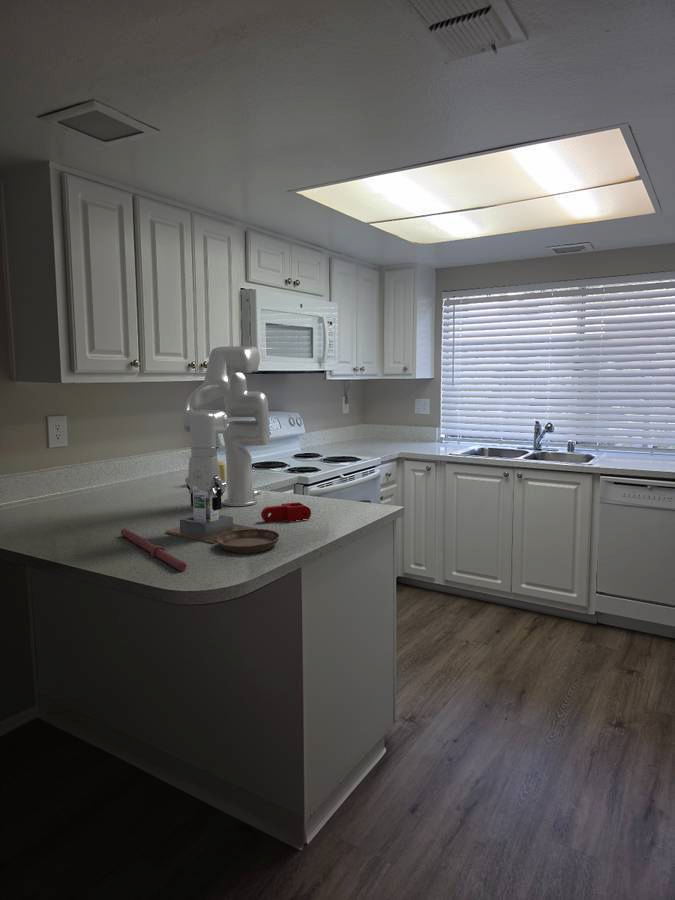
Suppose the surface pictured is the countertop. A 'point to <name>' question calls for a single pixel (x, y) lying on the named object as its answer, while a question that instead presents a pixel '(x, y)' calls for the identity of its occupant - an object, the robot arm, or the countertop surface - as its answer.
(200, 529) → the collar
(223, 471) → the cheese
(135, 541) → the rolling pin
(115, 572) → the countertop surface
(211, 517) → the syrup box
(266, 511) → the mechanical linkage
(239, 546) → the plant saucer
